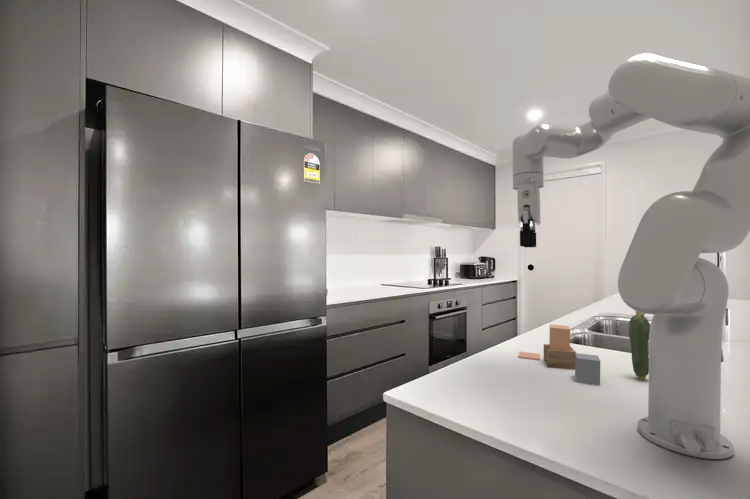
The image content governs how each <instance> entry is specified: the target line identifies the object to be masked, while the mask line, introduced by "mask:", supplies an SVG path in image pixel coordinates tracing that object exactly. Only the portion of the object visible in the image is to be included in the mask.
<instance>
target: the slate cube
mask: <svg viewBox="0 0 750 499" xmlns="http://www.w3.org/2000/svg"><path fill="white" fill-rule="evenodd" d="M574 377H575V381H576V383H580V384H586V385H587V384H588V385H592V384H593V385H595V386H599V385H600V386H601V360H600V357H599V356H598V355H596V354H587V353H578V352H576V353H575V370H574Z"/></svg>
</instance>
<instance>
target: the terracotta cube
mask: <svg viewBox="0 0 750 499" xmlns="http://www.w3.org/2000/svg"><path fill="white" fill-rule="evenodd" d="M548 336H549V341H548V342H549V346H550V349H555V350H564V351H570V347H571V345H570V343H571V328H570V326H569V325H560V324H552V323H551V324H549V335H548Z"/></svg>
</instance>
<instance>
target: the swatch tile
mask: <svg viewBox="0 0 750 499" xmlns="http://www.w3.org/2000/svg"><path fill="white" fill-rule="evenodd" d="M517 358H518V359H525V360H526V359H527V360H534V361H541V354H540V353H535V352H534V353H533V352H527V351H519V352H518V356H517Z"/></svg>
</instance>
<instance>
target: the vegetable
mask: <svg viewBox="0 0 750 499" xmlns="http://www.w3.org/2000/svg"><path fill="white" fill-rule="evenodd" d="M634 311H635V310H634ZM645 315H646V314H645V313H641V312H638V311H635V315H633V316H631V318H629V322H628V323H629V324H628V337H629V342H630V350H631V364H632V368H633V372H634V374H635V376H636V377H637V378H638V379H646V378H647V376H649V332H650V326H651V324H650V321H649V319H648V318H646V316H645Z"/></svg>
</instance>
